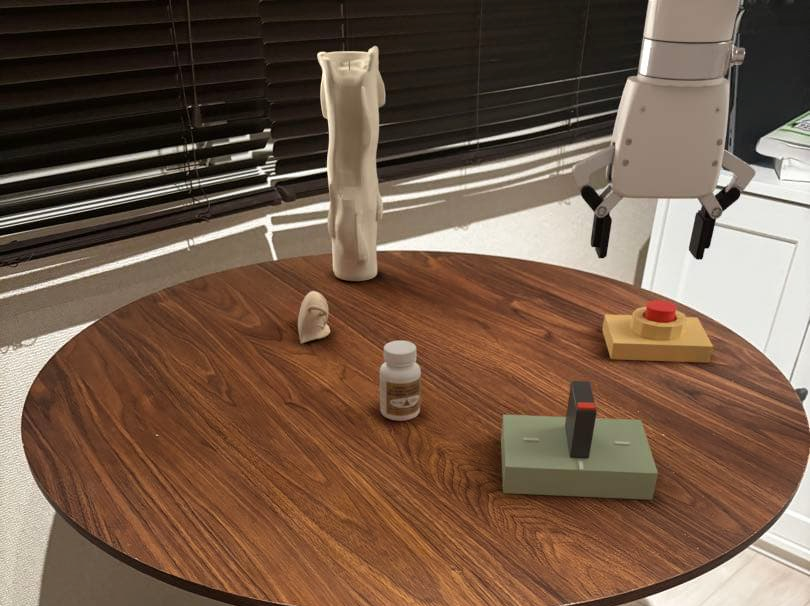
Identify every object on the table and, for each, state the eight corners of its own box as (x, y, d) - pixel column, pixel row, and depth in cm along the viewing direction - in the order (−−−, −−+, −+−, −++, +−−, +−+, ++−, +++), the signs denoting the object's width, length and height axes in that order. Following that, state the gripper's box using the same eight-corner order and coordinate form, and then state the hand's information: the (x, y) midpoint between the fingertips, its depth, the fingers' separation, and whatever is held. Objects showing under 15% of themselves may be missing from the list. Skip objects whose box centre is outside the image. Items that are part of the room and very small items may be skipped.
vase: (392, 270, 125) (391, 44, 107) (371, 289, 119) (365, 52, 100) (342, 263, 127) (332, 41, 109) (318, 281, 121) (303, 48, 103)
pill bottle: (389, 425, 87) (389, 358, 82) (374, 407, 90) (372, 342, 86) (426, 417, 89) (428, 351, 84) (410, 399, 92) (410, 335, 87)
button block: (693, 333, 107) (700, 303, 104) (709, 363, 100) (716, 332, 97) (602, 330, 107) (606, 300, 105) (610, 359, 100) (616, 328, 98)
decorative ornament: (328, 321, 109) (326, 282, 106) (331, 347, 103) (329, 306, 100) (298, 322, 109) (295, 283, 106) (299, 348, 102) (296, 308, 99)
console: (635, 444, 84) (641, 417, 82) (652, 500, 76) (658, 472, 74) (500, 439, 85) (503, 412, 83) (503, 493, 77) (505, 465, 75)
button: (671, 314, 103) (673, 300, 102) (676, 325, 100) (679, 311, 99) (642, 313, 103) (644, 299, 102) (646, 324, 100) (649, 310, 99)
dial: (564, 425, 81) (571, 378, 78) (582, 426, 81) (590, 379, 78) (569, 457, 76) (577, 408, 73) (589, 458, 76) (597, 409, 73)
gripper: (767, 57, 75) (723, 244, 86) (579, 56, 76) (558, 242, 86) (794, 69, 69) (743, 268, 80) (590, 68, 70) (566, 266, 80)
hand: (647, 254), depth 83 cm, fingers open, 9 cm apart
